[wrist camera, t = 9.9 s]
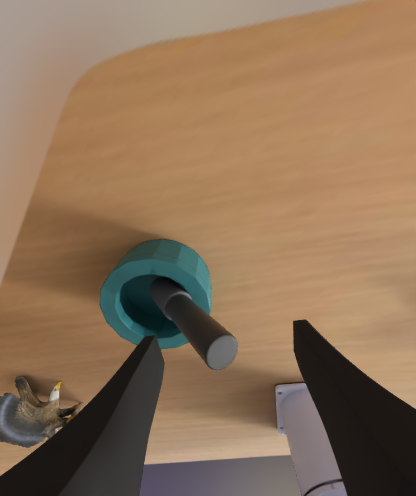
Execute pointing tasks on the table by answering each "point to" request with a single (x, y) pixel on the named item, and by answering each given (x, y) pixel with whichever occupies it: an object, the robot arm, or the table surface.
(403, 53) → the table surface
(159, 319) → the teal hollow cylinder
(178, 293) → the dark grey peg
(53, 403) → the eagle figurine
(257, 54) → the table surface
